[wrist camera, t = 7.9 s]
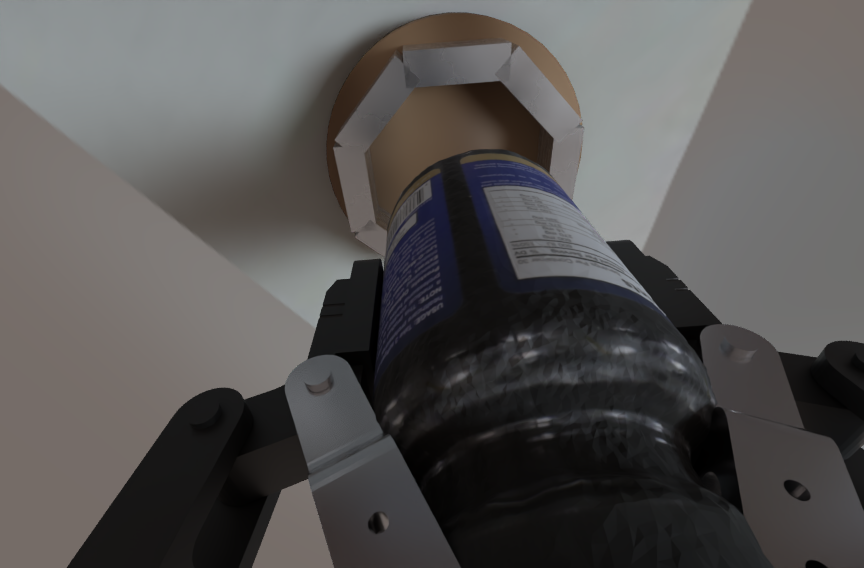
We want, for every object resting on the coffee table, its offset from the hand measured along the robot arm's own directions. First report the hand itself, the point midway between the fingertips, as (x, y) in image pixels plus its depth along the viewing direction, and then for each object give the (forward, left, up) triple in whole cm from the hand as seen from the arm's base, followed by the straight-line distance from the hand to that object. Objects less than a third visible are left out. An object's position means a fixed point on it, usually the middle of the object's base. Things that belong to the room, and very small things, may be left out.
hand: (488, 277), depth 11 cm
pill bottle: (0, 0, -3) cm, 3 cm away
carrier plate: (0, 0, -11) cm, 11 cm away
